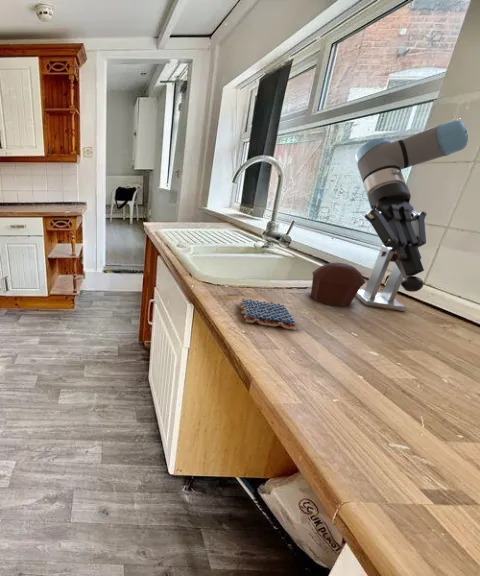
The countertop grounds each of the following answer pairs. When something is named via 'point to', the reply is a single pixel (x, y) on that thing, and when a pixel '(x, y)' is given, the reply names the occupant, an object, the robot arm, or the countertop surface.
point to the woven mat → (267, 314)
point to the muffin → (336, 284)
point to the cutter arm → (407, 277)
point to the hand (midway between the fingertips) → (415, 272)
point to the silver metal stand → (371, 291)
